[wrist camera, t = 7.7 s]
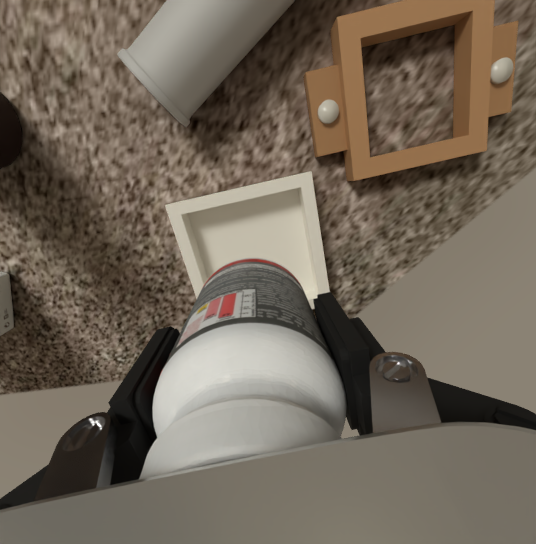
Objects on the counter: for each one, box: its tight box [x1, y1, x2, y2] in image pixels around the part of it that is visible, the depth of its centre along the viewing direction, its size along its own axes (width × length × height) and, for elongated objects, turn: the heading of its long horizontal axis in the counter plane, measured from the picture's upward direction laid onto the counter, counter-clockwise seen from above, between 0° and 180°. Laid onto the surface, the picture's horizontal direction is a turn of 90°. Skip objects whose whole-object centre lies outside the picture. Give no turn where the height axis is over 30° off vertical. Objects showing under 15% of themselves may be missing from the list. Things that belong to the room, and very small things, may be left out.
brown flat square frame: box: [303, 0, 518, 181], centre depth 21 cm, size 16×11×2 cm
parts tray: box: [165, 171, 330, 309], centre depth 24 cm, size 12×12×2 cm
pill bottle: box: [139, 258, 347, 479], centre depth 10 cm, size 6×6×10 cm
